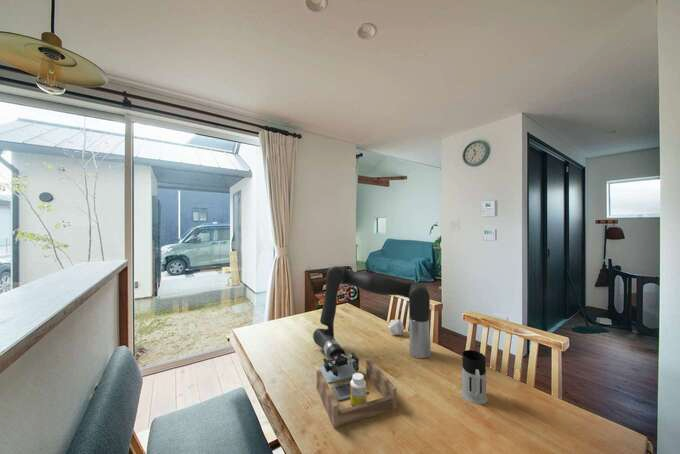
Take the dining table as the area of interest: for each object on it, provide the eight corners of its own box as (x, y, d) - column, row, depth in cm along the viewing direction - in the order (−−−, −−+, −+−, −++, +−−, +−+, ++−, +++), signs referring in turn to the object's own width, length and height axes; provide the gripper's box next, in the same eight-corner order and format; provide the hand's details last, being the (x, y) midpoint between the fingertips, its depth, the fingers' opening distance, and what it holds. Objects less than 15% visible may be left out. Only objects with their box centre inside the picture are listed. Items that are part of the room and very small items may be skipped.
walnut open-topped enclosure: (316, 388, 98) (316, 370, 98) (369, 374, 106) (369, 358, 106) (333, 428, 79) (333, 406, 78) (396, 408, 87) (396, 388, 86)
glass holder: (484, 390, 95) (484, 351, 95) (494, 418, 82) (494, 372, 81) (459, 385, 98) (459, 347, 97) (464, 412, 84) (464, 368, 84)
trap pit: (331, 387, 98) (331, 386, 98) (359, 380, 102) (359, 379, 102) (338, 401, 90) (338, 399, 90) (368, 393, 95) (368, 391, 95)
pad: (319, 367, 112) (319, 366, 112) (347, 361, 116) (347, 360, 116) (328, 383, 101) (328, 382, 100) (357, 375, 105) (357, 374, 105)
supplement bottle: (356, 396, 93) (356, 369, 92) (369, 403, 89) (369, 375, 89) (347, 405, 88) (347, 376, 88) (360, 413, 85) (359, 383, 85)
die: (400, 340, 137) (408, 323, 140) (386, 331, 139) (394, 315, 141) (397, 338, 145) (404, 323, 148) (384, 330, 146) (391, 315, 149)
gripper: (318, 346, 111) (329, 366, 96) (348, 340, 116) (363, 358, 100) (318, 363, 111) (330, 385, 96) (348, 356, 116) (364, 377, 101)
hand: (347, 371), depth 98 cm, fingers open, 8 cm apart
